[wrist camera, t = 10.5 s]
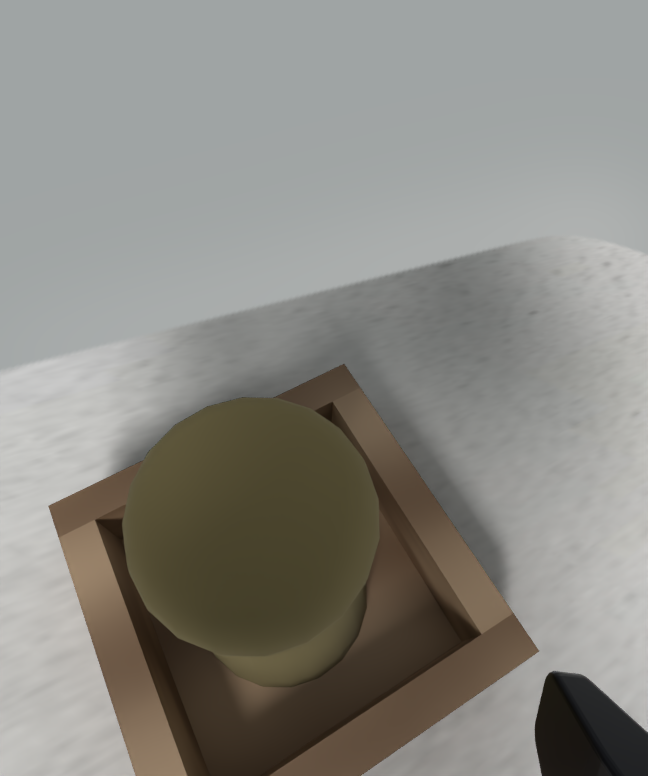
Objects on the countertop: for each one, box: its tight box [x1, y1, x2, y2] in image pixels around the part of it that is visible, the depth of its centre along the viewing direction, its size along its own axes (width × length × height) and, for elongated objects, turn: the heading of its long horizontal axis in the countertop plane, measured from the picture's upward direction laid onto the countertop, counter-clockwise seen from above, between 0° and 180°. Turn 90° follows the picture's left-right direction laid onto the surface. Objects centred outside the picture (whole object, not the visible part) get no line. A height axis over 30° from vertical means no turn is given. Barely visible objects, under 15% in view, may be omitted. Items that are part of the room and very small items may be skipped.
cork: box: [122, 397, 380, 688], centre depth 15 cm, size 6×6×11 cm
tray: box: [49, 364, 539, 776], centre depth 19 cm, size 11×11×4 cm
